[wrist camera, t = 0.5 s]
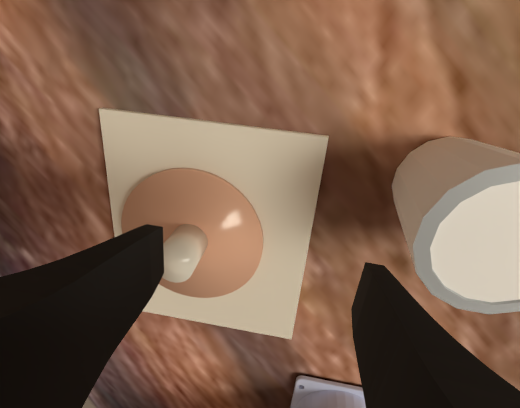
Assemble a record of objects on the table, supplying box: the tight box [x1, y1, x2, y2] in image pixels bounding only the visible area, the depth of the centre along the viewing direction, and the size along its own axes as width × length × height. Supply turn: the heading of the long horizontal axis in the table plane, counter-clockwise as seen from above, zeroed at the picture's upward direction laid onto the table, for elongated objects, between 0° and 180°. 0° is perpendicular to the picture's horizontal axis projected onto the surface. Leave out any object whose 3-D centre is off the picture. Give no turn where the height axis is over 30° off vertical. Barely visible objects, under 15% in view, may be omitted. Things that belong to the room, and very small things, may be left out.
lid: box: [121, 168, 264, 298], centre depth 21 cm, size 10×10×4 cm
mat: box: [99, 108, 329, 339], centre depth 22 cm, size 16×14×1 cm
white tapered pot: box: [392, 136, 520, 314], centre depth 15 cm, size 7×7×7 cm
